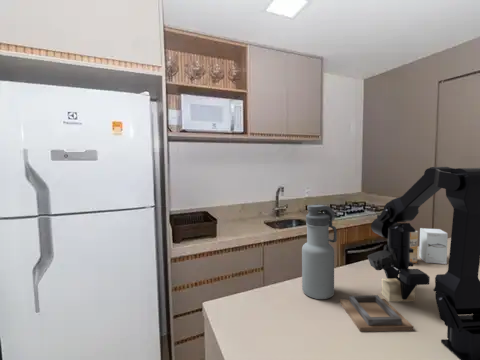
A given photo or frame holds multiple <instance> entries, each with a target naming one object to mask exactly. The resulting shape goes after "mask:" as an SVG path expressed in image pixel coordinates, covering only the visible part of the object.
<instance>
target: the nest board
mask: <svg viewBox="0 0 480 360" xmlns="http://www.w3.org/2000/svg"><path fill="white" fill-rule="evenodd" d="M348 297H349V298H348V299H339V304H340V305H341V306H342V308H343V309H344V311H345V312H346V313H347V315H348V316H349V318H350V320H351V321H352V322H353V323H354V325H355V326H356V328H357V330H358V331H359V332H395V331H398V332H399V331H400V332H401V331H405V332H406V331H414V325H412V324H411V322H409V321H408V320H407V319H406V318H405V317H404V316H403V315H402V314H401V313H400V312H399V311H398V310H397V309H396V308H395V307H394V306H393V305H391V303H389V301H388V300H387V299H386V298H381V297H380V296H379V295H378V294H377V295H375V294H374V295H373V294H372V295H371V294H370V295H365V294H364V295H348Z"/></svg>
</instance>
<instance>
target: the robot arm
mask: <svg viewBox="0 0 480 360" xmlns="http://www.w3.org/2000/svg"><path fill="white" fill-rule="evenodd" d="M441 189H444V190H445V197H446V199H448V201H449V203H450V205H451V206H452V208H453V212H452V214H453V215H452V225H451V235H450V237H451V238H450V244H449V245H450V246H449V254H448V255H449V259H448V267H447V268H448V269H447V271H446V273H445V274H444V273H440V274H436V275H435V277H434V281H435V284H434V285H435V286H434V289H433V291H434V292H435V302H436V306H437V307H436V308H437V311H438V315H439V319H440V320H441V321H442V322H443V323H444V325H445V326H446V327H447V331H446V334H447V335H446V337H447V339H441V340H440V342H441V344H443V346H444V347H446V348H447V349H448V350H449V351H450V352H452V353H453V354H454V355H455V357H457V358H458V359H459V360H480V279H479V272H480V270H479V269H480V167H463V168H462V167H461V168H455V167H454V168H453V167H449V166H431V167H429V168H428V167H427V168H426V169H425V170H424V173H423V175H422V176H420V177H419V179H418V180H417V181H416V182H415V183H413V185H412V186H410V188H409V189H408V190H407V191H406V192H404V193H403V194H402V195H401V196H398V197H396V198H393V199H391V200H390V201H388V202H386V203H385V205H384V207H383V208H382V211H381V213H380V214H377V216H376V218H375V219H374V220H373V221H372V222H371V225H370V227H371V230H372V232H373V233H375V234H377V235H378V236H380V237H382V238H383V239H387V244H384V246H383V249H382V250H378V251H375V252H373V253H371V254H368V255H367V259H368V261H369V262H368V263H369V265H370V266H371V267H372V268H373V269H374V270H376V271H382V270H383V272H384V273H385V276H386V279H394V278H396V279H397V280H398V281H399V282H400V286H401V295H402V299H403V300H406V299H407V298H408V296H409V295H410V294H411V292H412V291H413V289H414V288H415V289H416V288H417V286H421V285H422V286H425V285H426V286H427V285H430V279H431V277H430V276H429V275H428V274H427V273H426V272H424V271H422V270H421V269H419V268H409V267H414V263H412V262H411V261H410V253H413V249H412V248H410V232H415V231H416V229H415V228H414V227H413V226H412V225H411V223H409V222H412V221H413V220H414V219H415V218H416V217H417V216H418V214H419V213H420V211H419V208H420V207H421V206H423V204H425V203H426V202H427V201H428V200H429V199H431V197H433V196H434V195H436V193H438V192H439V191H441Z"/></svg>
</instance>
